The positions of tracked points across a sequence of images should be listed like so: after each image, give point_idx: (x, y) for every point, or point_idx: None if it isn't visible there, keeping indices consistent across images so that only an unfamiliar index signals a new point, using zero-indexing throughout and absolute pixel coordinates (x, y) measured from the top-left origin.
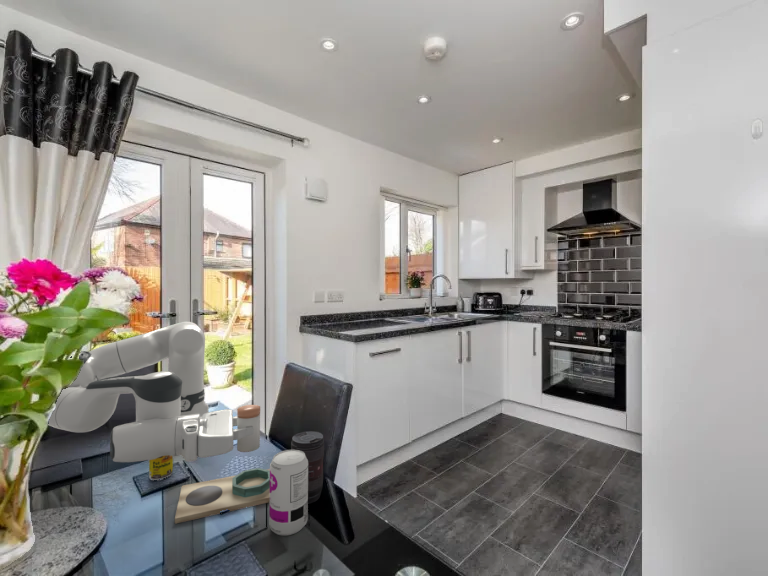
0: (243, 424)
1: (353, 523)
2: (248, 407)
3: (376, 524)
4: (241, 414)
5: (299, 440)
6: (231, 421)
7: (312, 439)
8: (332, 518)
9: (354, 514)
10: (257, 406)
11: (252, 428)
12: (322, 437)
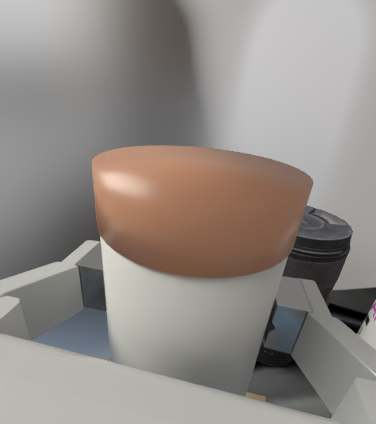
0: (270, 304)
1: (368, 312)
2: (173, 160)
3: (369, 291)
4: (290, 225)
5: (322, 232)
6: (162, 387)
7: (316, 218)
8: (353, 331)
9: (341, 301)
10: (191, 149)
11: (311, 284)
12: (309, 206)
